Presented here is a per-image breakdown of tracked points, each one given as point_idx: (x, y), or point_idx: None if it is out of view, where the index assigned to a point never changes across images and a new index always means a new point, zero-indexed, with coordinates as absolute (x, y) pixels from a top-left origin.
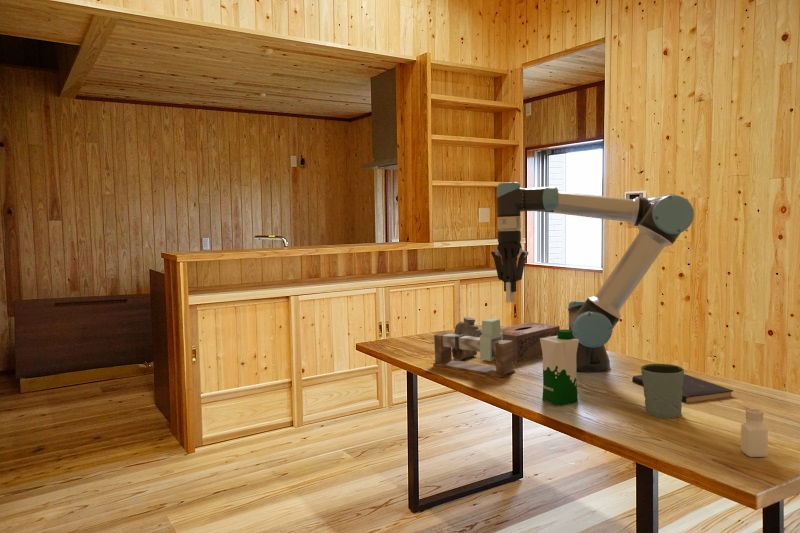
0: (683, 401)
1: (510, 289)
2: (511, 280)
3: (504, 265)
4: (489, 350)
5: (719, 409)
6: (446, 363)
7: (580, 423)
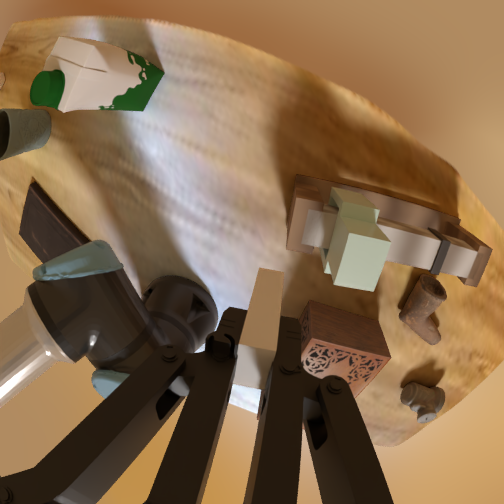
0: (36, 184)
1: (246, 315)
2: (217, 353)
3: (274, 489)
4: (338, 192)
5: (17, 177)
6: (439, 227)
7: (97, 28)
